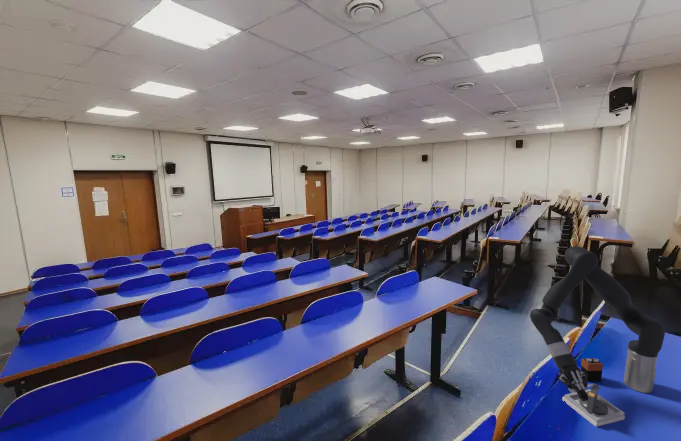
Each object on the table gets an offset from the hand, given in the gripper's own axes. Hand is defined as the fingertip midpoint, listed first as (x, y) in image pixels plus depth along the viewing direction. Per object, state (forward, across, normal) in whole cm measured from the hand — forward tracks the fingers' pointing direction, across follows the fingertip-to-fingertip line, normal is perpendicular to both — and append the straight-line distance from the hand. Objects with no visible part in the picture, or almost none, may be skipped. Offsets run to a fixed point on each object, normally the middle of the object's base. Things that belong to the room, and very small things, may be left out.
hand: (585, 400), depth 119 cm
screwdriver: (-3, +13, +13) cm, 19 cm away
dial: (+3, +5, +4) cm, 7 cm away
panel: (+4, +6, +6) cm, 9 cm away
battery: (-7, +23, +16) cm, 29 cm away
